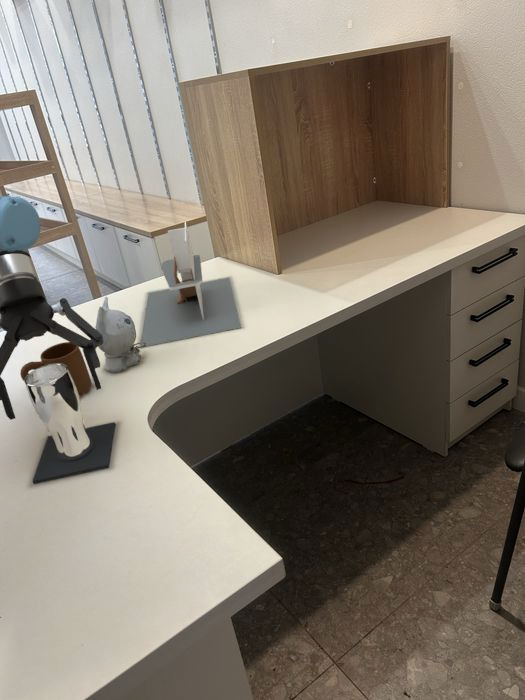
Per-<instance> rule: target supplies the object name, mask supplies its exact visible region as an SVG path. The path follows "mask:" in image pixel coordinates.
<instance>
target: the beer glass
mask: <svg viewBox="0 0 525 700" xmlns="http://www.w3.org/2000/svg"><path fill="white" fill-rule="evenodd" d="M28 373H29V374H28V375H27V376H26V378H25V380H24V381H23V382H24V384H25V386H26V390H27V393H28V395H29V399H30V402H31V404H32V407H33V409H34V411H35V413H36V415H37V416H38V417H39V420H40V421H41V422H42V424H43V425H44V426H45V428H46V429H47V431H48V433H49V434H50V436H52V437H53V439H54V442H55V445H56V451H57V455H58V457H59V459H61V460H64V461H72V460H76V459H79V458H81V457H83V456H85V455H86V454H88V453H89V452H90V451H91V450H92V448H93V446H94V441H93V439H92V437H91V436H90V434H89V433H88V431H87V429H86V428H87V427H86V424H85V421H84V415H83V414H84V413H83V408H82V404H81V398H80V396H79V394H78V391H77V388H76V385H75V383H74V381H73V379H72V377H71V375H70V373H69V371H68V368H67V366H66V365H64V364H59V363H56V364H49V365H45V366H42V367H40V368H38V369H36V370H31V372H28Z"/></svg>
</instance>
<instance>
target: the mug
mask: <svg viewBox="0 0 525 700" xmlns="http://www.w3.org/2000/svg"><path fill="white" fill-rule="evenodd" d="M39 357H40V360H39V361H29V362H27V363H24V365H22V367H21V369H20V378H21V380H22V381H23V382H24V380H25V378H26V376H27V375H28V374H29V373H30V371H34V370H36V369H38V368H40V367H42V366H45V365H49V364H56V363H59V364H64V365H66V366H67V368H68V371H69V373H70V375H71V377H72V379H73V381H74V383H75V385H76V388H77V391H78V394H79V397H82V396H83V395H85V394H86V393H87V392H89V390H90V389H91V388H92V385H93V383H92V379H91V378H92V377H91V376H90V375H91V374H90V372H89V369H88V366H87V363H86V360H85V359H84V358H85V357H84V355H83V353H82V351H81V348H80V347H79V346H77V345H75V344H73V343H71V342H69V341H66V342H65V341H64V342H60V343H56V344H54V345H51V346H49V347H48V348H46V349H45V350H43V351H42V352H41V353H40V356H39Z"/></svg>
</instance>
